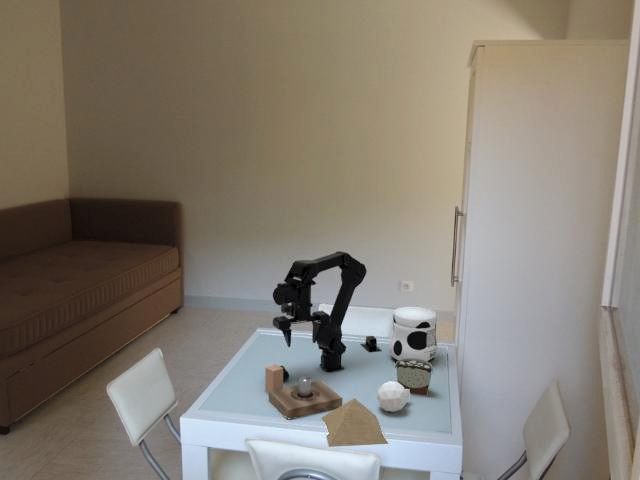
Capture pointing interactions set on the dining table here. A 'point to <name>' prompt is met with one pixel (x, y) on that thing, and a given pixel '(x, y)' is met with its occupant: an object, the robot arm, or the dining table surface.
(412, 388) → the food container
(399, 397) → the perfume bottle
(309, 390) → the round dowel
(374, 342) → the black stepped block
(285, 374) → the tape measure
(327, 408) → the bore block
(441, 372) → the dining table surface
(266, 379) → the square bar
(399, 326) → the milk container
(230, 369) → the dining table surface
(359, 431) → the model pyramid
